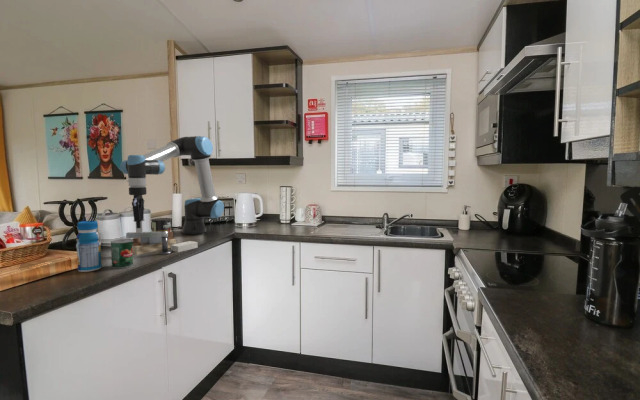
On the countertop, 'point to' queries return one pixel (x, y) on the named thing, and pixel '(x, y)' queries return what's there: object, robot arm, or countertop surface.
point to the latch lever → (146, 234)
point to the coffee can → (161, 224)
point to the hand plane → (145, 248)
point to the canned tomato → (121, 253)
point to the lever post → (164, 247)
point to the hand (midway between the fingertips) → (139, 234)
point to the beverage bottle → (88, 246)
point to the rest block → (184, 246)
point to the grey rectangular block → (151, 240)
